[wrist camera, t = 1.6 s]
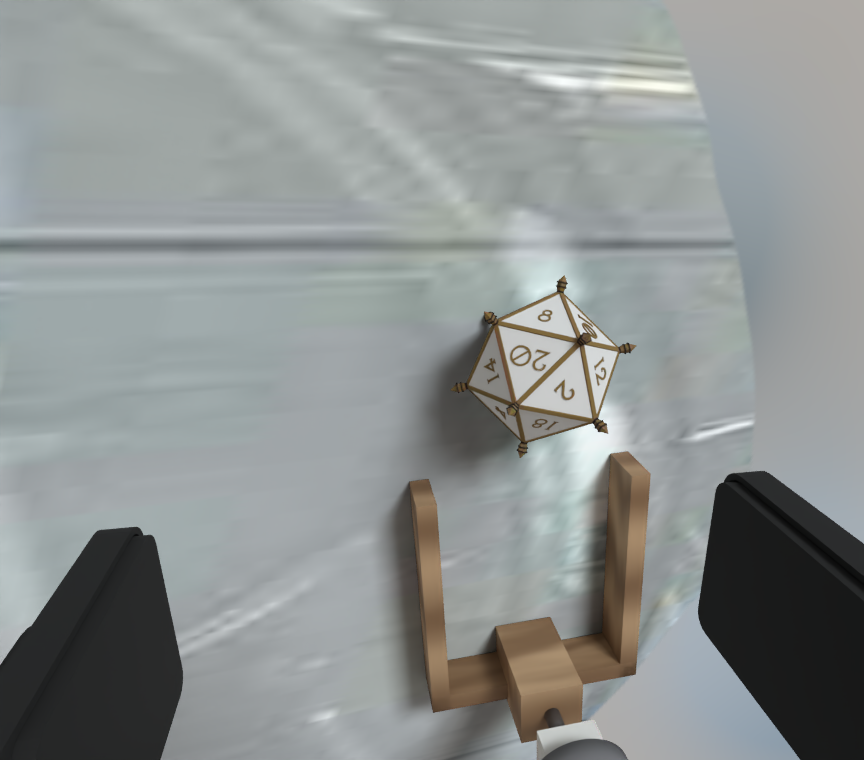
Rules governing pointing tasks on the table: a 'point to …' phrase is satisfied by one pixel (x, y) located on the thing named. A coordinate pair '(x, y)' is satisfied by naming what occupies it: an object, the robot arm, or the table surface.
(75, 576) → the robot arm
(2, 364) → the table surface
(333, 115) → the table surface
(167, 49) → the table surface
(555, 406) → the game die
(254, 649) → the table surface
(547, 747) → the wheel
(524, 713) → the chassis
